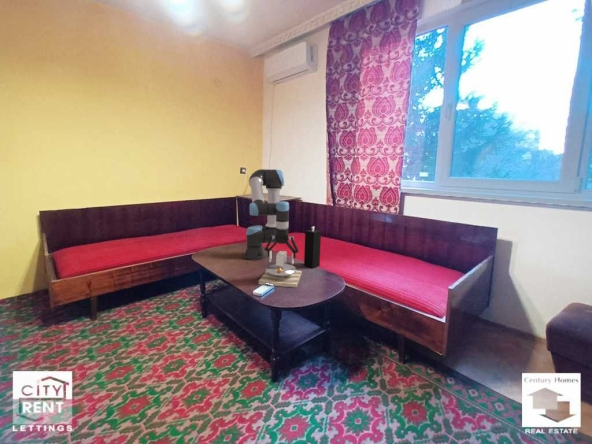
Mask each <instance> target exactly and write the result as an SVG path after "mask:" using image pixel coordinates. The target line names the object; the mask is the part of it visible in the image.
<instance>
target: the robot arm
mask: <svg viewBox="0 0 592 444" xmlns="http://www.w3.org/2000/svg"><path fill="white" fill-rule="evenodd" d="M248 185H249V187H250V190H251V191H250V193H251V201H252V203H251V202H250V203H249V215H250V216H255V217H257V216H258V217H259V216H267V222H266V224H265V227H264V226H263V225H260V224H259V225H252V226H249V227H247V228H246V234H245V235H246V248H245V251H244V254H243V255H244V256H243V257H244V259H245V258H246V259H245V260H249V261H257V260H262V259H265V256H266V254H265V252H267V257H268V261H269V262H268V263H272V259H273V258H272V255H273V254H272V249H274V247H275V245H277V244H279V245H280V244H281V245H282V244H283V245H284V244H285V245H286V246H287V248H289V249H290V251H291V265H294V262H295V261H294V259H296V255H297V253H299V248H298V246H297V244H296V241H295V237H294V236H289V221H290V220H289V219H290V217H289V215H290V214H289V213H290V212H289V211H290V203H289V202H288V201H284V200H283V201H280V191H281V190H282V189H283V187H284V186H285V177H284V173H283V171H282V170H281V169H275V168H274V169H271V168H270V169H265V168H264V169H263V168H262V169H261V168H260V169H257V170H255V171H253V173H251V175H250V177H249V179H248ZM264 186H265V189H266V190H267V202H265V198H264V189H263V187H264ZM289 241H291V243H290V242H289ZM263 244H266V246H265V247H263ZM271 244H272V245H271ZM291 244H292V245H291Z"/></svg>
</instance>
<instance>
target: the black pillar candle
mask: <svg viewBox="0 0 592 444" xmlns="http://www.w3.org/2000/svg"><path fill="white" fill-rule="evenodd" d="M321 241H322V231H321V230H318V229H315V226H314V225H313V226H311V229H307V230H304V251H303V252H304V256H303V265H304V266H305V267H307V268H310V269H314V268H317V267H319V266H320V265H321V263H320V262H321V243H322V242H321Z"/></svg>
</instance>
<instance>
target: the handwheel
mask: <svg viewBox="0 0 592 444" xmlns="http://www.w3.org/2000/svg"><path fill="white" fill-rule="evenodd" d="M287 252H288V251H287V250H279V252H277V253H276V256H275V264H273V263H272V264H270V265H268V266H267V267H266V269H265V272H266V271H267V273H269V274H271V275H275V276H288V275H292V274H294V273H295V272H296V270H297V268H296V266H294V265H293V264H288V263H286V262H287V261H288V260H287V255H288V253H287Z"/></svg>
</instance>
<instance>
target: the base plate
mask: <svg viewBox="0 0 592 444" xmlns="http://www.w3.org/2000/svg"><path fill="white" fill-rule="evenodd" d="M301 276H302V270H297V269H296V272H295V273H294V274H292V275H288V276H275V275H271V274H269V273H267V271H266V270H265V272H264V273H263V274H262V276H260V279H259V280H258V285H262V286H263V284H266V283H269V284H273V285H275V287H283V288H284V287H287V288H288V287H289V288H297V287H298V284H299V282H300V279H301Z"/></svg>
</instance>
